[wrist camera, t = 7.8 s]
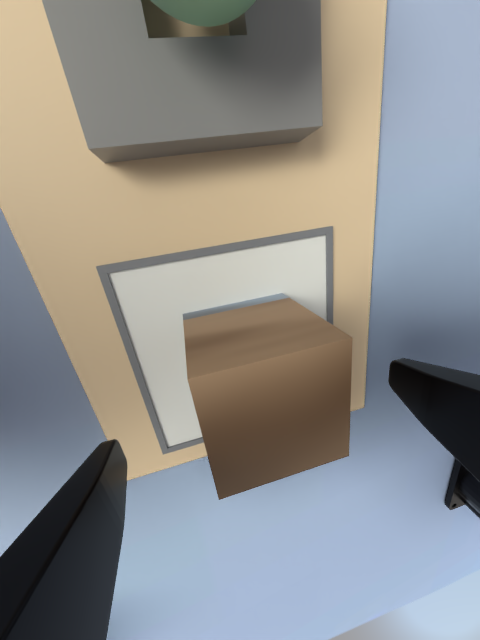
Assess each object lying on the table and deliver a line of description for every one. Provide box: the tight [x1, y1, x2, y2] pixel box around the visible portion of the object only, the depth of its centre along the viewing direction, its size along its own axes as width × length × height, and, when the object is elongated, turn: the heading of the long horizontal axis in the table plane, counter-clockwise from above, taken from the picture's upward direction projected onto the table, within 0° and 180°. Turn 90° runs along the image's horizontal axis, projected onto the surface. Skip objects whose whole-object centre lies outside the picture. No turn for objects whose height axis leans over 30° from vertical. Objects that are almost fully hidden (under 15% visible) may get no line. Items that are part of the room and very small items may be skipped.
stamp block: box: [183, 293, 353, 500], centre depth 10 cm, size 4×4×5 cm
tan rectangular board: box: [0, 0, 387, 481], centre depth 10 cm, size 22×14×1 cm, turn 8°
